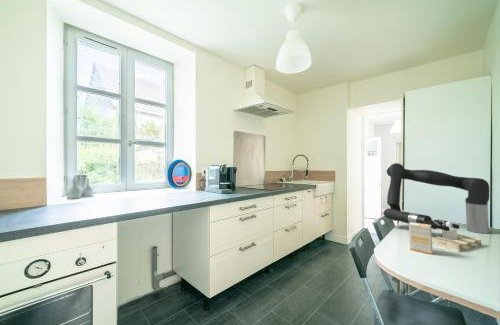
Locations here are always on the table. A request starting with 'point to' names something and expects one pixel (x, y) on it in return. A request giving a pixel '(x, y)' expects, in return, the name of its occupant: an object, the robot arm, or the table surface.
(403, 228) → the table surface
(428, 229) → the supplement box
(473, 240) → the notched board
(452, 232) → the eye dropper bottle
